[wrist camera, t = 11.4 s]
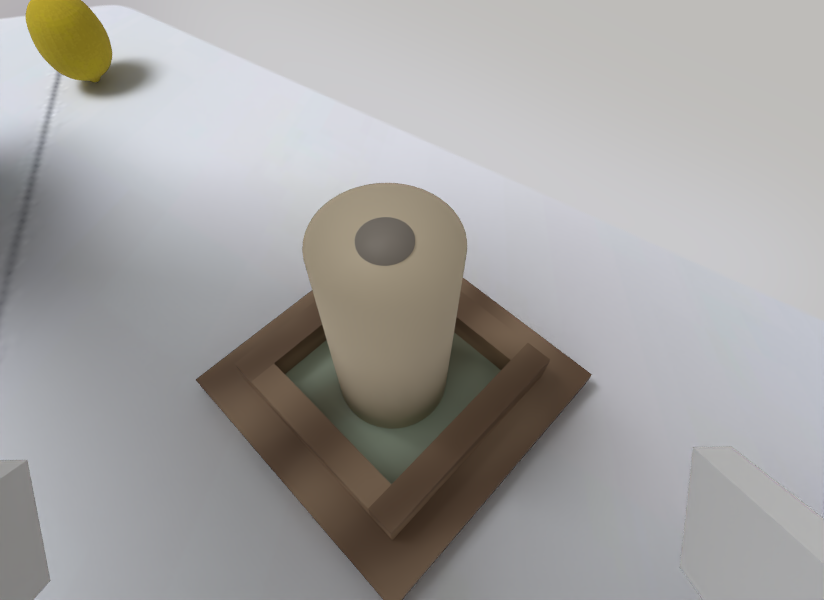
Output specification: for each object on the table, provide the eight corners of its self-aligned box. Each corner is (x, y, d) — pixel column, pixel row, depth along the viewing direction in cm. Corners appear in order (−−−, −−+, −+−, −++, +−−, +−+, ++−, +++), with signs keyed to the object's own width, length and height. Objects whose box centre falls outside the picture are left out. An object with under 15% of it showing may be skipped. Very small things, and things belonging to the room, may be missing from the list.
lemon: (93, 107, 44) (35, 14, 38) (51, 88, 46) (-12, -5, 39) (140, 74, 47) (94, -18, 40) (99, 57, 48) (48, -35, 42)
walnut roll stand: (202, 388, 30) (181, 364, 27) (395, 237, 36) (394, 206, 33) (392, 610, 24) (390, 608, 21) (585, 382, 30) (602, 358, 27)
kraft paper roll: (318, 377, 28) (268, 240, 18) (394, 312, 31) (387, 159, 21) (392, 451, 26) (382, 343, 16) (468, 376, 29) (501, 239, 18)
